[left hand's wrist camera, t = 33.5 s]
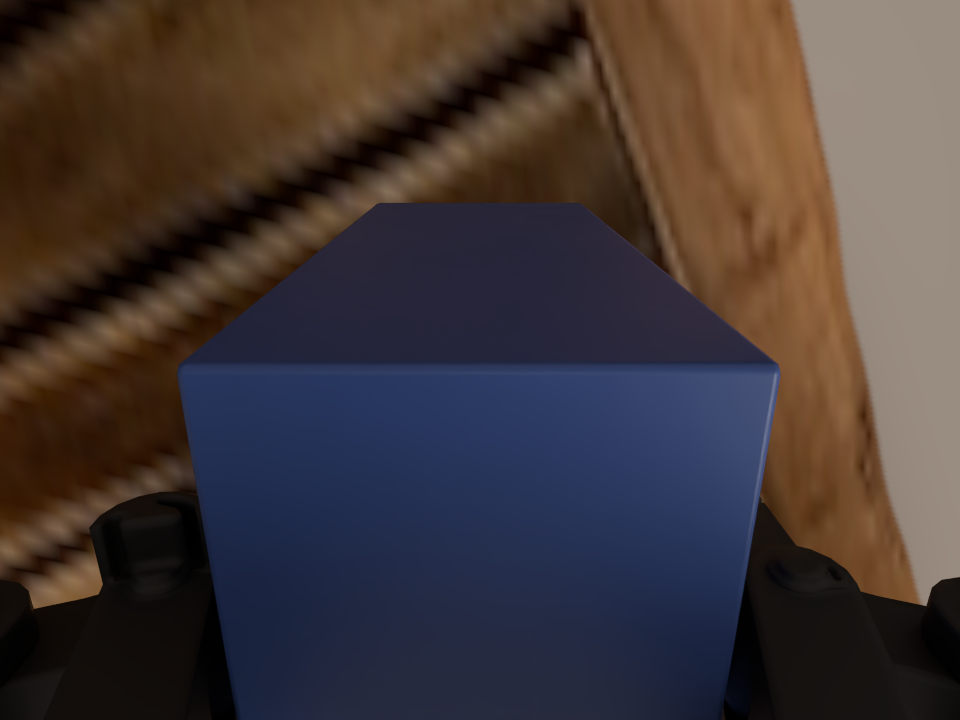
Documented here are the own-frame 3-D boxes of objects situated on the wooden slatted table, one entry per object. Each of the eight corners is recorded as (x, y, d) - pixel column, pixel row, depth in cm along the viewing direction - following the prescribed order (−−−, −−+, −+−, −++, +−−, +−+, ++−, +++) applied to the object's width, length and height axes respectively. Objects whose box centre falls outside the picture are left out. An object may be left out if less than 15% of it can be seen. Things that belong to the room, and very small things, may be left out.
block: (565, 513, 18) (674, 1008, 8) (392, 513, 18) (283, 1008, 8) (582, 202, 15) (788, 365, 5) (375, 202, 15) (169, 365, 5)
